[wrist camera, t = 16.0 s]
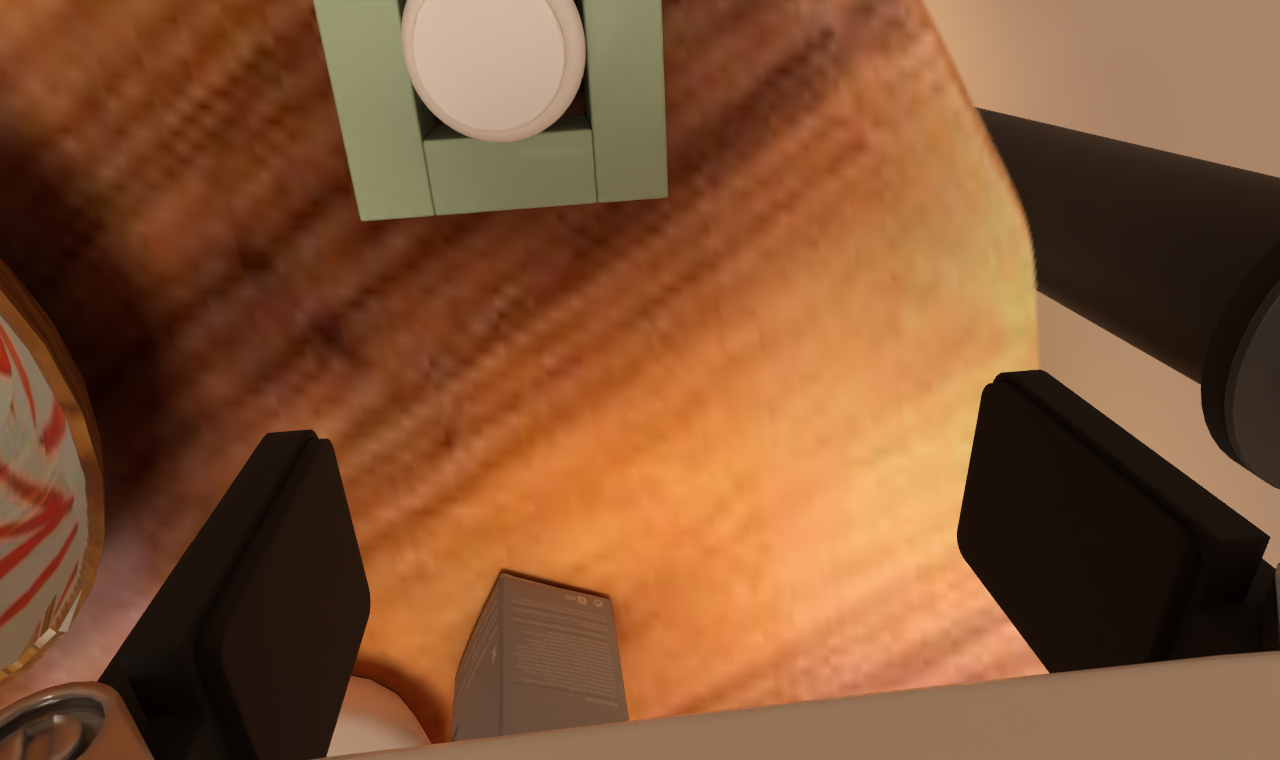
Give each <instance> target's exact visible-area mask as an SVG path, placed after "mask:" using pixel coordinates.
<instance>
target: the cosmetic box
mask: <svg viewBox="0 0 1280 760" xmlns="http://www.w3.org/2000/svg"><path fill="white" fill-rule="evenodd" d="M624 721H629V715H628V709H627V703H626V697H625V690H624V683H623V677H622V670H621V664H620V657H619V651H618V645H617V638H616V632H615V625H614V618H613V611H612V605H611V601H610V600H609V599H605V598H601V597H598V596H594V595H589V594H585V593H581V592H575V591H571V590H566V589H562V588H557V587H553V586H549V585H545V584H542V583H538V582H534V581H530V580H525V579H522V578H518V577H515V576H512V575H509V574H505V573H502V574H500V577H499V580H498V582H497V584H496V586H495V588H494V590H493V591H492V593H491V595H490V597H489V599H488V601H487V603H486V605H485V608H484V610H483V612H482V614H481V616H480V618H479V620H478V622H477V625H476V627H475V629H474V631H473V633H472V636H471V638H470V640H469V643H468V645H467V648H466V650H465V653H464V655H463V658H462V661H461V663H460V666H459V669H458V671H457V674H456V678H455V691H454V703H453V717H452V730H451V742H456V741H464V740H473V739H481V738H489V737H498V736H506V735H515V734H523V733H531V732H540V731H548V730H557V729H565V728H573V727H582V726H590V725H599V724H607V723H616V722H624Z"/></svg>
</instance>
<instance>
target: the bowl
mask: <svg viewBox="0 0 1280 760" xmlns="http://www.w3.org/2000/svg"><path fill="white" fill-rule="evenodd" d="M104 538H105V495H104V474H103V454H102V447H101V439H100V433H99V430H98V426H97V423H96V419H95V416H94V413H93V409H92V406H91V402H90V399H89V396H88V392H87V389H86V386H85V382H84V379H83V378H82V376H81V374H80V372H79V370H78V368H77V366H76V365H75V363H74V361H73V359H72V357H71V355H70V353H69V351H68V350H67V348H66V346H65V344H64V342H63V340H62V338H61V337H60V335H59V333H58V331H57V329H56V327H55V325H54V324H53V322H52V321H51V319H50V318H49V317H48V315H47V314H46V313H45V312H44V310H43V309H42V308H41V306H40V305H39V304H38V303H37V301H36V300H35V299H34V298H33V296H32V295H31V294H30V292H29V291H28V290H27V289H26V287H25V286H24V285H23V284H22V282H21V281H20V280H19V278H18V277H17V276H16V275H15V273H14V272H13V271H12V270H11V268H10V267H9V266H8V265H7V264H6V263H5V262H4V261H3V260H2V259H1V258H0V687H1V686H2V685H4V684H6V683H7V682H9V681H11V680H12V679H14V678H16V677H17V676H19V675H21V674H22V673H24V672H25V671H27V670H29V669H30V668H31V667H32V666H33V665H34V664H35V663H36V662H37V661H38V660H39V659H40V658H41V657H42V656H43V655H44V654H45V653H46V652H48V651H49V650H50V649H51V648H52V647H53V646H54V645H55V644H56V643H57V642H58V641H59V640H60V639H61V638H62V637H63V636H64V635H65V634H66V633H67V632H68V630H69V628H70V626H71V625H72V623H73V621H74V619H75V618H76V616H77V614H78V612H79V611H80V609H81V607H82V605H83V604H84V602H85V600H86V598H87V597H88V595H89V593H90V592H91V590H92V588H93V584H94V580H95V576H96V572H97V567H98V563H99V559H100V555H101V550H102V546H103V542H104Z"/></svg>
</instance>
